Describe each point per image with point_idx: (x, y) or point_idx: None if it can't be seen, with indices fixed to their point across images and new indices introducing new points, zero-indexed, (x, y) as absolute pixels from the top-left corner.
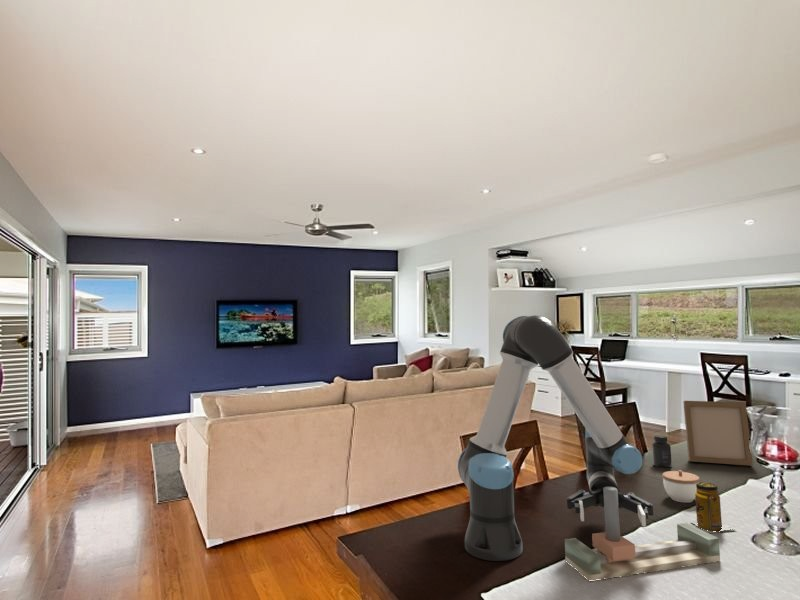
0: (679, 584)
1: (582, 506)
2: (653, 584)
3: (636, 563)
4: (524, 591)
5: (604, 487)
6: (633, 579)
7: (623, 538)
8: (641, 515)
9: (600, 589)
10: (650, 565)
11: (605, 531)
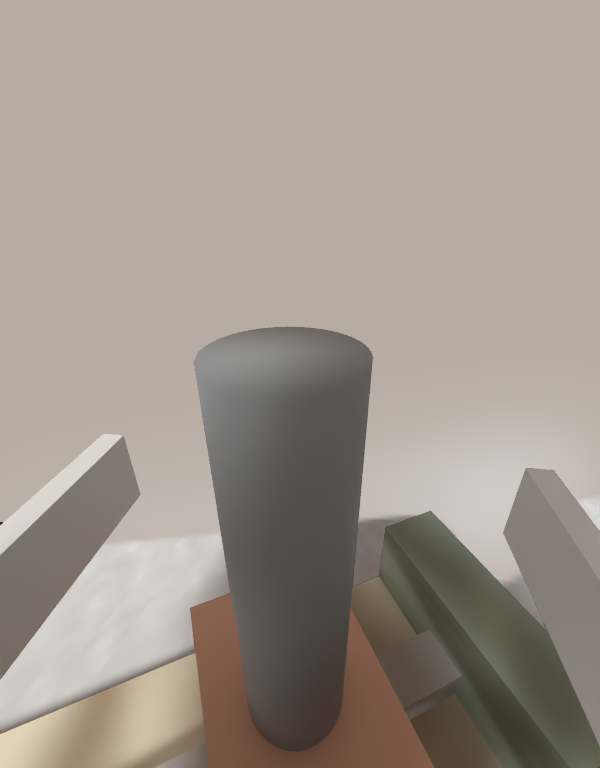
0: (100, 595)
1: (575, 533)
2: (196, 584)
3: (189, 701)
4: (589, 506)
5: (353, 374)
6: None
7: (215, 705)
8: (113, 460)
9: (380, 536)
10: (129, 684)
11: (344, 674)
